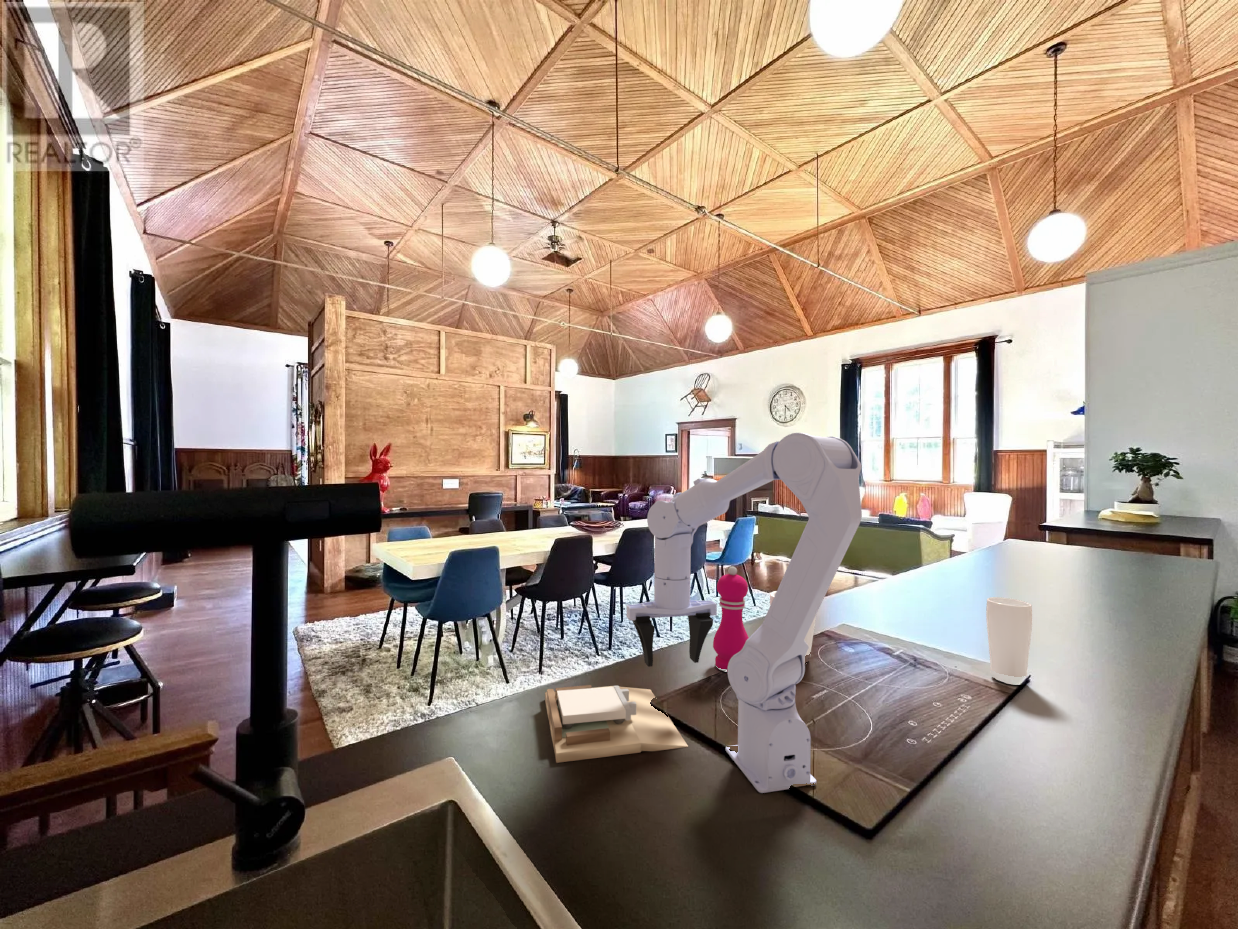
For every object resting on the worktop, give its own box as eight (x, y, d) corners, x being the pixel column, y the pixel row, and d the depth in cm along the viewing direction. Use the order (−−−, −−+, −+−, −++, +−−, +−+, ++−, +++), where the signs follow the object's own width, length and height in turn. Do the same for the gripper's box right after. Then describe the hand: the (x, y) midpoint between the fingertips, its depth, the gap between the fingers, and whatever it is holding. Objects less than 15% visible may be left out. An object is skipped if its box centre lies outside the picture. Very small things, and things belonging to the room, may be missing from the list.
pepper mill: (751, 677, 92) (752, 571, 92) (712, 673, 93) (713, 569, 93) (749, 662, 99) (750, 564, 99) (712, 659, 100) (714, 562, 100)
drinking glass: (1041, 689, 88) (1042, 607, 88) (1003, 688, 88) (1004, 606, 88) (1012, 674, 95) (1012, 597, 95) (977, 673, 95) (977, 596, 95)
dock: (688, 753, 68) (688, 724, 68) (556, 770, 64) (556, 739, 64) (650, 695, 86) (650, 672, 86) (544, 705, 81) (545, 681, 81)
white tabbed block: (638, 724, 71) (639, 708, 72) (561, 732, 69) (561, 715, 69) (625, 699, 79) (625, 685, 79) (555, 705, 77) (555, 690, 77)
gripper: (704, 569, 83) (703, 649, 83) (622, 573, 80) (621, 656, 79) (722, 578, 76) (722, 666, 76) (633, 582, 73) (632, 673, 72)
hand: (671, 662), depth 77 cm, fingers open, 7 cm apart
